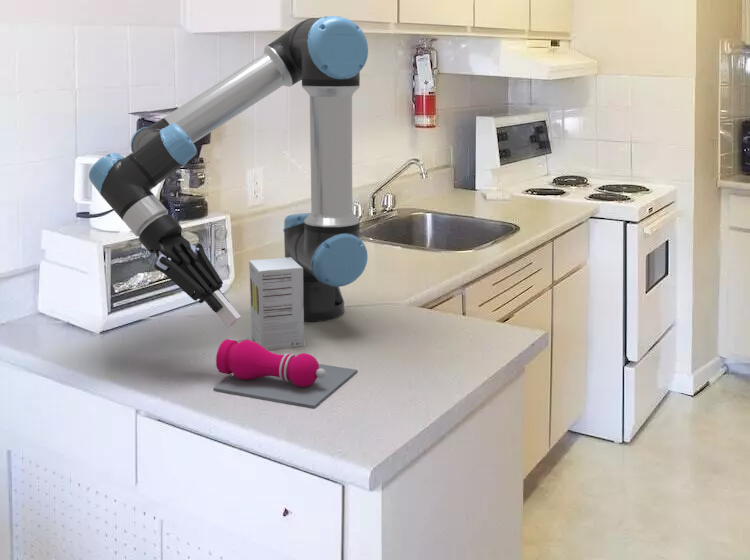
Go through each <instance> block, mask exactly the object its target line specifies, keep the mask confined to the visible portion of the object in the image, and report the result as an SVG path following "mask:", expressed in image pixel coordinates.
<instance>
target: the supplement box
mask: <svg viewBox="0 0 750 560" xmlns="http://www.w3.org/2000/svg"><path fill="white" fill-rule="evenodd" d="M248 264H249V265H248V266H249V287H250V289H249V290H250V291H249V292H250V293H249V294H250V320H251V321H250V322H251V337H252V339H253V341H254V342H256V343H258V344H260V345H261V346H262V347H264V348H265V349H266V350H268V351H273V350H281V349H282V350H283V349H291V348H299V347H305V321H304V308H303V267H301V266H300V265H299V264H298V263H297V262H295V261H294V260H293V258H292V257H287V258H285V257H279V258H278V257H276V258H262V259H250V260H249V261H248Z"/></svg>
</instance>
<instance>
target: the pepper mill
mask: <svg viewBox="0 0 750 560" xmlns="http://www.w3.org/2000/svg"><path fill="white" fill-rule="evenodd" d="M215 362H216V363H215V365H216V368H217V371H218V372H219V373H221V374H225V375H231V374H232V375H235V377H237V378H238V379H243V380H250V379H255V378H259V377H263V376H276V377H279V378H280V379H281V380H282V381H287V382H290V381H292V382H293V383H294V385H296V386H299V387H308V386H310V385H312V384H313V383H314V382H315V381H316V379H317V377H318V378H324V377H325V375H326V372H325V370H324V369H322V368H320V369H319V365H318V364H319V362H318V360H317V359H316V357H315V356H314V355H312V354H309V353H306V352H304V353H299V354H297V355H295V354H294V353H288V352H287V353H285V354H278V353H274V352H272V351H271V350H266V349H265V348H264V347H262V346H261V345H260V344H258V343H256V342H255V341H254V340H249V339H244V340H241V341H239V342H238V340H234V339H230V338H229V339H224V340H223V341H222V342H221V343H220V345H219V347H218V349H217V353H216V357H215Z"/></svg>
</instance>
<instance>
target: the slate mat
mask: <svg viewBox="0 0 750 560" xmlns="http://www.w3.org/2000/svg"><path fill="white" fill-rule="evenodd" d="M318 365H319V369H320V368H322V369H324V370H325V372H326V375H325V377H324V378H318V377H317V379H316V381H315V382H314V383H313V384H312V385H310V386H308V387H299V386H296V385H294V383H293V382H292V381H290V382H287V381H282V380H281V379H280V378H279V377H276V376H263V377H259V378H255V379H250V380H243V379H238V378H237V377H235V375H234V374H232V375H231V376H230V377H228V378H227V379H225V380H224V381H222V382H221V383H219V384H217V385H216V386H214V387H213V391H214V392H218V393H219V392H220V393H225V394H232V395H236V396H242V397H246V398H247V397H248V398H253V399H260V400H265V401H270V402H276V403H282V404H286V405H287V404H288V405H292V406H298V407H305V408H309V409H316V408H317V407H318V406H319V405H321V403H323V402H324V401H325V400H326V399H328V398H329V397H330V396H331V395H333V393H334V392H336V391H337V390H338V389H340V388H341V387H342V386H343V385H344V384H346V382H348V381H349V380H350V379H351V378H352V377H353V376H355V375H356V374H357V373H358V369H354V368H348V367H341V366H336V365H335V366H334V365H328V364H322V363H318Z"/></svg>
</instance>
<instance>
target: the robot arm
mask: <svg viewBox="0 0 750 560" xmlns="http://www.w3.org/2000/svg"><path fill="white" fill-rule="evenodd" d="M368 56H369V44H368V40H367V37H366V36H365V33H364V32H363V29H361V28H360V26H359V25H357V23H356V22H354V21H352V20H351V19H349V18H347V17H342V16H337V15H327V16H326V15H325V16H320V17H312V18H307V19H304V20H301V21H300V22H298V23H297V24H295V25H294V26H293V27H291V28H290V29H289V30H287V31H286V32H284V33H283V34H281V36H279V37H278V38H276V39H274V40H273V41H271V43H269V44H267V45H266V46H265V47H264V50H263V53H262V54H261V55H259V56H258V57H256V58H255V59H253V60H252V61H249V62H248V63H247V64H246V65H244V66H242V67H240V68H239V69H237V70H236V71H234V72H233V73H232V74H230V75H228V76H227V77H225V78H224V79H222V80H220V81H219V82H217V83H215V84H214V85H212V86H211V87H208V89H206V90H205V91H203V92H201V93H200V94H198V95H197V96H195V97H194V98H192V99H190V100H189V101H187V102H186V103H184V104H183V105H181V106H179V107H178V108H176V109H175V110H173V111H172V112H170V113H168V114H167V115H165V116H164V117H162V118H161V119H159V120H157V121H156V122H154V123H153V124H151V125H150V126H146V127H141V128H140V129H138V130H137V131H136V132H135V133H134V134H132V137H131V139H130V140H131V141H130V150H131V153H130V154H128V155H127V156H125V157H124V156H122V155H121V154H119V153H118V152H110V153H108V154H107V155H105V156H102V157H100V158H99V159H98V160H97V161H96V162H95V163H94V164H92V166H91V168H90V170H89V173H88V178H89V181H90V182H91V183H92V185H93V187H94V188H95V189H96V191H98V193H99V195H100V196H101V197H102V199H104V201H105V202H106V203H107V204H108V205H109V206H110V207H111V209H112V210H113V211H114V212H115V214H116V215H118V217H119V218H120V219H121V220H122V221H123V222H124V223H125V225H126V226H127V227H128V229H130V231H131V232H132V234H133V235H135V237H138V240H139V242H140V243H141V245H143V247H144V248H145V249H146V250H147V252H148V253H149V254H155V256H156V258H157V261H156V263H155V264H154V265H153V266H154V269H155V270H157V271H159V272H160V273H162V274H164V275H165V276H166V277H167V278H168V279H170V280H171V281H172V282H173V283H174V284H175V285H176V286H177V287H179V288H180V289H181V290H182V291H183V292H184V293H185V294H186V295H187V296H188V297H190V298H191V299H192V300H193V301H196V302H197V301H198V303H199V304H203V303H204V302H205V303H206V305H208V306H209V307H210V309H211V310H212V311H213V313H216V314H217V316H218V317H219V318H220V319H221V321H222V322H223V324H225V325H226V327H227V328H229V327H232V326H233V325H234V324H235V323H237V321H238V320H239V319H240V318H241V317H242V315H240V313H239V312H238V311H237V310H236V308H234V306H233V305H232V304H231V302H230V301H229V300H228V298H227V297H226V296H225V295H224V293H223V292H222V291H221V290H220V289H221V288H222V287H223V284H224V282H223V280H222V278H221V277H220V275H219V274H218V272H217V270H216V269H215V267H214V266H213V264H212V262H211V261H210V259H209V258H208V256H207V255H206V252H205V249H204V246H203V244H202V243H197V244H196V245H193V244H191V243H190V241H189V240H188V239H186V238H185V237H184V236H182V231H183V228H182V226H181V225H180V224H179V223H178V222H177V220H176V219H175V218H174V217H173V215H171V214H169V210H168V209H167V208H166V207H165V206H164V204H163V203H162V202H161V201H160V200H159V199H158V197H156V195H155V194H154V193H153V192H152V191H151V190H152V189H153V188H155V187H157V186H158V185H159V184H161V183H162V182H163V181H165V179H167V178H169V177H170V176H171V175H172V174H174V173H175V172H176V171H178V170H179V169H180V168H182V167H183V166H186V165H187V163H188V162H190V161H191V160H192V159H193V158H194V157H195V156H196V155H197V150H198V149H197V147H196V145H195V144H194V143H197V141H199V140H201V139H202V138H203V137H205V136H207V135H208V134H210V133H212V132H213V131H215V130H217V129H218V128H219V127H221V126H223V125H224V124H225V123H227V122H228V121H230V120H231V119H232V120H233V118H235V117H236V116H238V115H239V114H241V113H243V112H245V111H246V110H248V109H249V108H250V107H252V106H254V105H255V104H256V103H258V102H259V101H262V100H263V99H264V98H266V97H268V96H269V95H270V94H272V93H273V92H276V91H277V90H278V89H280V88H281V87H283V86H284V87H289V88H290V87H292V86H293V85H296V84H297V83H299V82H300V81H301V88H303V90H304V91H305V92H306V93H307V94H308V95H309V133H310V136H309V139H310V140H309V141H310V142H309V143H310V145H309V146H310V150H309V151H310V152H309V153H310V202H311V203H310V205H311V207H310V208H311V209H310V210H311V211H310V212H307V213H303V212H302V213H296V214H295V213H294V214H289V215H287V216H286V217H285V219H284V221H283V224H284V226H283V230H282V231H283V236H284V239H283V240H284V243H283V244H284V258H287V257H292V258H293V260H294V261H295V262H297V263H298V264H299V265H300V266H301V267H303V308H304V322H317V321H318V322H319V321H326V320H327V321H328V320H331V319H335V318H338V317H340V316H342V315H343V314H344V313H345V301H344V297H343V295H342V291H341V288H340V287H344V286H348V285H350V284H352V283H354V282H356V281H357V279H358V278H359V277H360V276H361V275H362V274H363V273H364V271H365V269H366V267H367V264H368V257H369V255H368V249H367V248H366V245H365V244H364V241H363V240H362V239H361V238H360V237H361V233H360V232H361V231H360V230H361V228H360V227H361V225H360V224H361V222H360V219H359V218H358V217H357V215H356V214H355V213H354V212H353V96H354V94H355V93H356V92H357V91H358V90H359V88H360V86H361V85H360V81H361V80H360V78H361V77H360V75H361V74H360V73H361V71H362V69H363V68H364V67H365V65H366V63H367V60H368Z"/></svg>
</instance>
